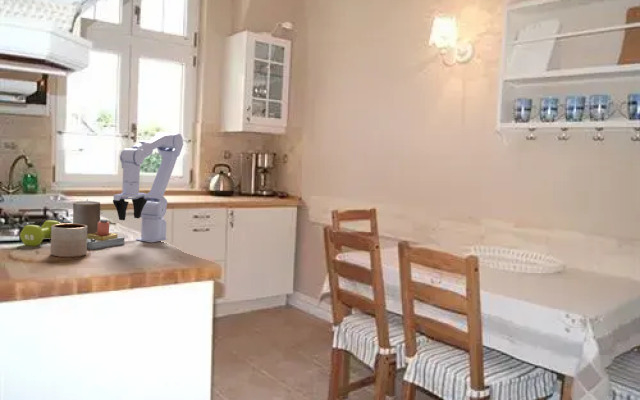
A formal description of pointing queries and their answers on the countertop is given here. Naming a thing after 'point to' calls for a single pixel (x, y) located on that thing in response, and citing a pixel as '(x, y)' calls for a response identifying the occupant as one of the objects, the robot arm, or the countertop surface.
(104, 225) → the oil can
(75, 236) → the planter
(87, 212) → the pillar candle
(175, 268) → the countertop surface
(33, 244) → the dumbbell
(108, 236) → the grey flat block
